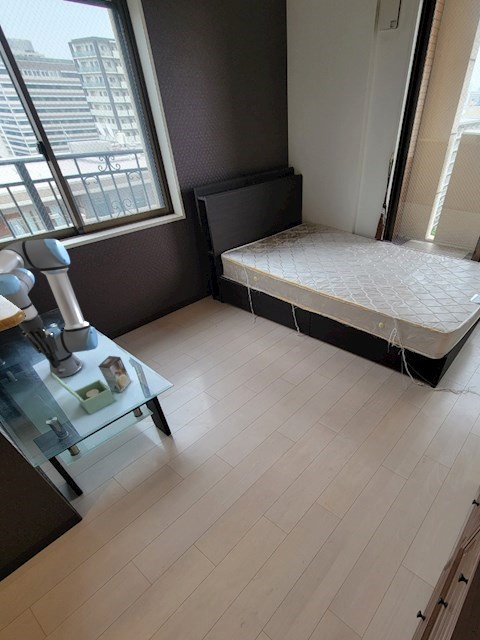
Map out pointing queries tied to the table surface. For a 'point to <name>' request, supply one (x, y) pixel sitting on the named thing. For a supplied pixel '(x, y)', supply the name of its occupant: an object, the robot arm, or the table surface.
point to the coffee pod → (92, 393)
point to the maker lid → (66, 387)
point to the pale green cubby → (97, 400)
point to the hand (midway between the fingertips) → (57, 365)
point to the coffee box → (115, 373)
